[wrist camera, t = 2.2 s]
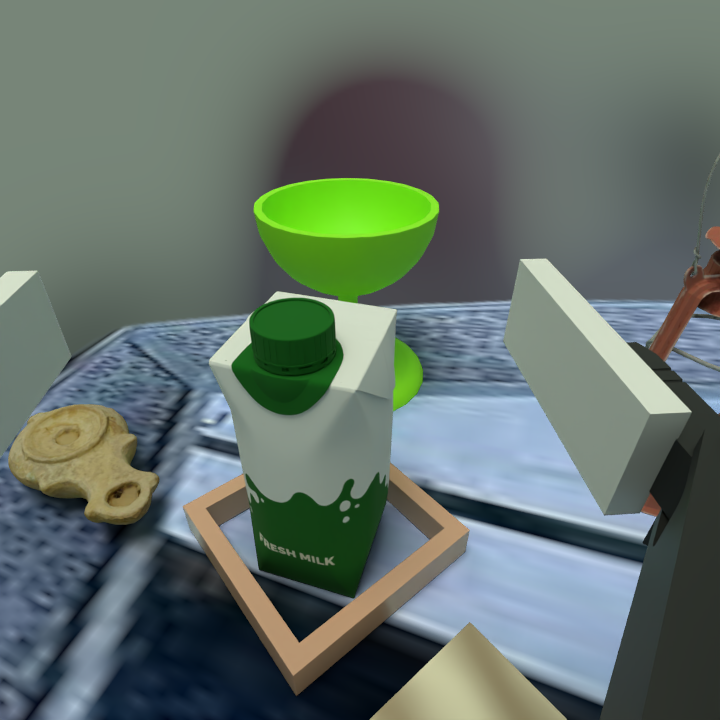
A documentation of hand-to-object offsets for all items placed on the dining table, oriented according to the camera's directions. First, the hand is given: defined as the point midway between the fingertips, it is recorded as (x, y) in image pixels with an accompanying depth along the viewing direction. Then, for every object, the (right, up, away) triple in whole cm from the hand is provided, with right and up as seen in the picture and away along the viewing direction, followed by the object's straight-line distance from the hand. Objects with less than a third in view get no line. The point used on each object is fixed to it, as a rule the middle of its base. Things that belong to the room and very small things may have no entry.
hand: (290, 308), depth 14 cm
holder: (-1, -15, +22) cm, 27 cm away
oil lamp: (-19, -12, +27) cm, 35 cm away
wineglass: (+1, -3, +40) cm, 40 cm away
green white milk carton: (-1, -15, +22) cm, 27 cm away
